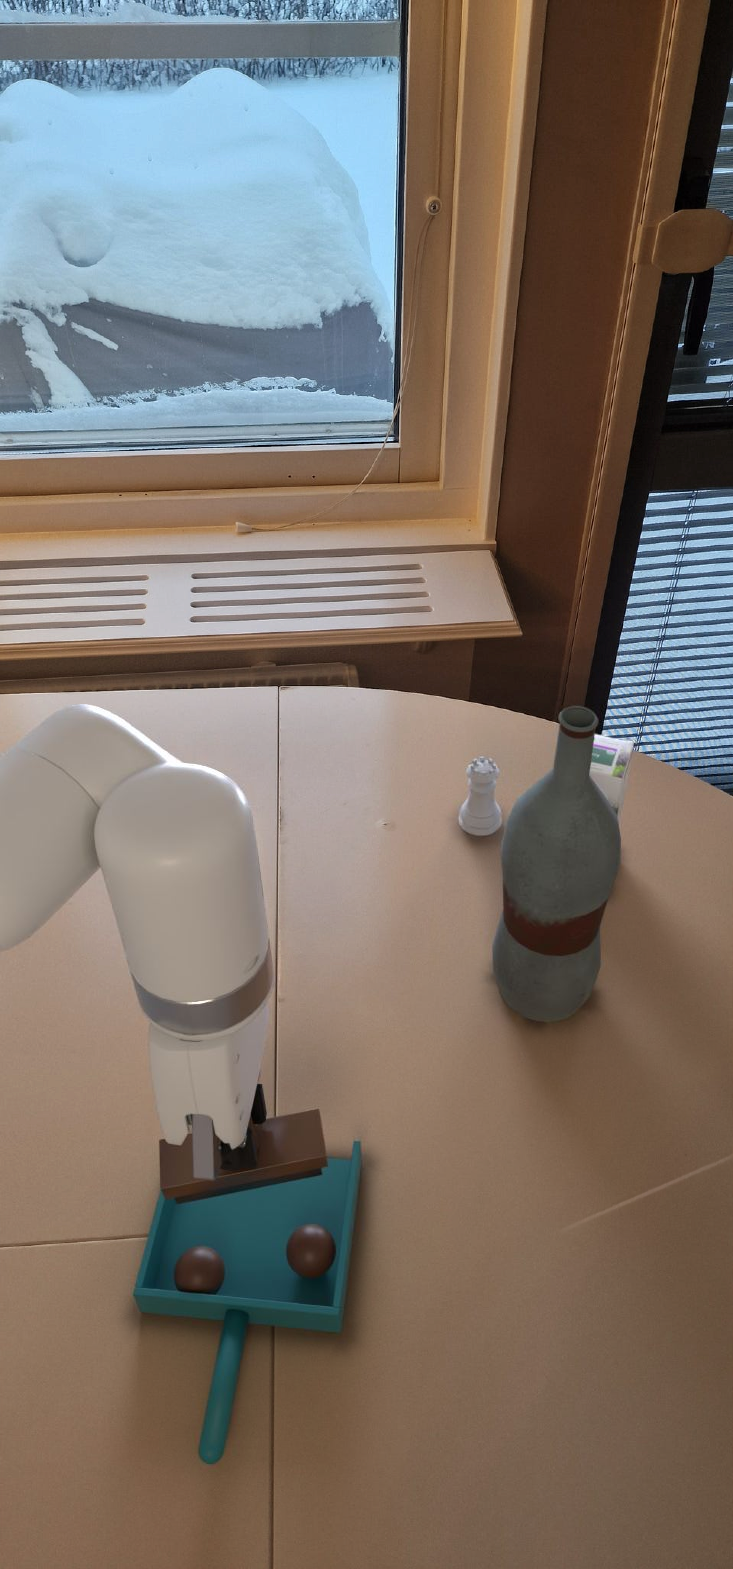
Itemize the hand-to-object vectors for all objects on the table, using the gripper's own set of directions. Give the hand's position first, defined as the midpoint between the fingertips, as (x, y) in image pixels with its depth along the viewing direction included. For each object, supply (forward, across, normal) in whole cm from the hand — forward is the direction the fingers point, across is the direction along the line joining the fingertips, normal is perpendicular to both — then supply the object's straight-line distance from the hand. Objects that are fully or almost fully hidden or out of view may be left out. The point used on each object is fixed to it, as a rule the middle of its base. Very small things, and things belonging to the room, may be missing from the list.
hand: (238, 1138), depth 68 cm
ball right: (+10, +3, +5) cm, 11 cm away
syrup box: (+12, -38, +25) cm, 47 cm away
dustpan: (+12, +5, 0) cm, 13 cm away
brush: (+4, 0, 0) cm, 4 cm away
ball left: (+10, +5, -3) cm, 11 cm away
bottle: (+12, -23, +21) cm, 34 cm away
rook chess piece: (+12, -43, +15) cm, 47 cm away
